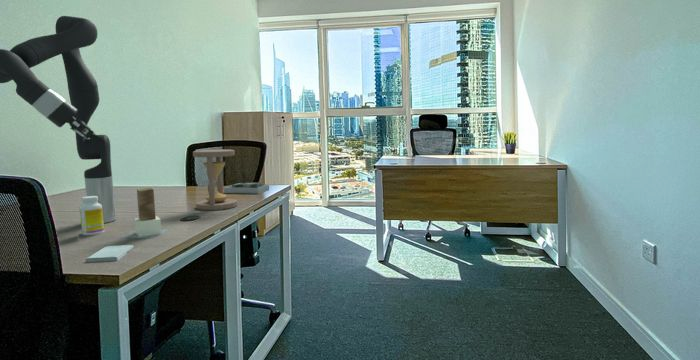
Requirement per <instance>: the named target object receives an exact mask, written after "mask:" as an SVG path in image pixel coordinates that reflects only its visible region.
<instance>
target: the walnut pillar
mask: <svg viewBox="0 0 700 360" xmlns="http://www.w3.org/2000/svg"><path fill="white" fill-rule="evenodd" d="M136 194H137V196H136V197H137V208H138V209H137V210H138V218H139V219H140V220H141V221H144V220H152V219H156V216H157V215H156V208H155V207H156V205H155V204H156V203H155V191H154V189H153V187H148V188H137V189H136Z"/></svg>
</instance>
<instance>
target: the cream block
mask: <svg viewBox="0 0 700 360" xmlns="http://www.w3.org/2000/svg"><path fill="white" fill-rule="evenodd" d="M155 216H156V219H152V220H144V221H141V220H140V219H139V217H136V218H135V217H134V225H135V232H136V234H137V235H138V236H139V237H143V236H150V235H157V234H161V235H162V230H161V229H162V219H161V218H160V216H158V215H155Z"/></svg>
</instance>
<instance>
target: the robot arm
mask: <svg viewBox="0 0 700 360" xmlns="http://www.w3.org/2000/svg"><path fill="white" fill-rule="evenodd" d="M97 39H98V28H97V26H96V25H95V23H94V22H93V21H92V20H89V19H87V18H83V17H78V16H77V17H76V16H68V15H61V16H59V17H58V18H57V20H56V23H55V33H54V34H53V33H52V34H49V35H42V36H37V37H34V38H30V39H27V40H26V41H23V42H19V43H18V44H15V45H14V46H13V47H11V49H10V50H8V49H4V48H3V49H2V48H0V84H5V83H9V82H11V81H13V82H14V84H15V85H16V88H15V93H16V94H17V96H19V97H20V98H21V99H22V100H24V101H25V102H27V103H28V104H29V105H30V106H32V107H33V108H34V109H35V110H36V111H37V112H38V113H39V114H41V115H42V116H43V117H44V118H46V119H48V120H49V121H50V122H51V123H53V125H55V126H56V127H58V128H62V127H63V126H64V125H65V124H68V125H69V126H70V129H71V131H73V132H74V133H75V141H76V150H77V155H78V158H79V159H81V160H87V161H88V160H100V162H99V164H97V165H95V166H93V167H91V168H87V169H85V170H84V172H83V177H84V186H85V197H87V196H98V203H99V204H101V205H102V212H103V222H104V224H107V223H111V222H113V221H114V222H115V221H116V219H117V217H116V207H115V206H116V204H115V195H114V184H113V183H114V182H113V172H112V160H111V159H112V158H111V157H112V156H111V152H112V151H111V140H110V138H109V136H108V135H107V134H96V132H94V131H93V130H92V128H91V127H90V126H89V125H88V124H89V122H90V120H91V118H92V116H93V115H94V112H95V111H96V110H97V108H98V106H99V103H100V95H99V85H98V82H97V80H96V78H95V76H94V75H93V74H92V72H91V70H90V69H89V68H88V66H87V64H85V62H84V59H83V58H82V54H81V51H80V49H82V48H85V47H89V46H91V45H94V43H96V41H97ZM60 55H61V56H62V63H63V65H64V71H65V75H66V82H67V89H68V95H69V100H70V102H69V101H67V100H66V99H65V98H64V97H62V96H61V95H60V94H59V93H57V92H56V91H54V89H51V88H50V87H49V86H48V85H46V83H44V82H42V81H41V80H40V79H38V77H37V76H36V75H35V73H34V72H33V71H32V70H31V68H34V67H36V66H38V65H40V64H43V63H44V62H46V61H49V60H50V59H52V58H54V57H56V56H60Z"/></svg>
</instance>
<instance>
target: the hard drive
mask: <svg viewBox="0 0 700 360" xmlns="http://www.w3.org/2000/svg"><path fill="white" fill-rule="evenodd" d="M132 248H134V245H133V244H125V245H123V244H121V245H107V246H104V247H103V248H101V249H100V250H98V251H96V252H95V253H93V254H92V255H90V256H88V257H86V259H85V262H86V263H96V262H111V261H112V262H114V261H115V262H116V261H119V260H120V259H122V258H123V257H124V256H126V255H127V254H128V253H129V252H130V250H131V249H132Z"/></svg>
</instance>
